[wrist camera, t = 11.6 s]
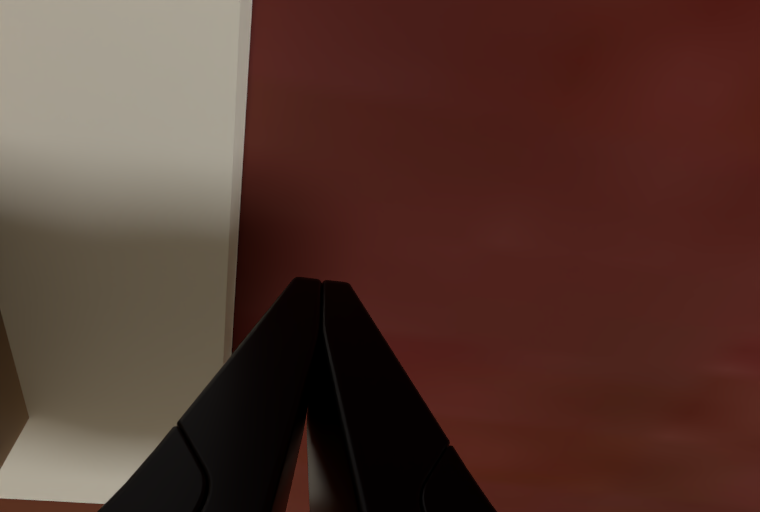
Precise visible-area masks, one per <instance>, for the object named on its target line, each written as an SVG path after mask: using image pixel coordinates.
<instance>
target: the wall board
mask: <svg viewBox="0 0 760 512" xmlns="http://www.w3.org/2000/svg"><path fill="white" fill-rule="evenodd" d="M251 15H252V0H0V310H1V314H2V318H3V322H4V325H5V329H6V333H7V337H8V340H9V344H10V348H11V352H12V355H13V359H14V363H15V366H16V370H17V374H18V378H19V381H20V385H21V389H22V393H23V396H24V400H25V404H26V408H27V411H28V415H29V419H28V421H27V423H26V425H25V426H24V428H23V430H22V432H21V434H20V435H19V437H18V439H17V441H16V442H15V444H14V446H13V448H12V450H11V451H10V453H9V455H8V457H7V458H6V460H5V462H4V464H3V466H2V467H1V469H0V498H8V499H26V500H44V501H62V502H81V503H99V504H105V503H106V502H107V501H108V500H109V499H110V498H111V497H112V496H113V495H114V494H115V493H116V492H117V491H118V490H119V489H120V488H121V487H122V486H123V485H124V484H125V483H126V482H127V481H128V479H129V478H130V477H131V476H132V475H133V474H134V472H135V471H136V470H137V469H138V468H139V467H140V466H141V464H142V463H143V462H144V461H145V460H146V459H147V457H148V456H149V455H150V454H151V453H152V452H153V451H154V449H155V448H156V447H157V446H158V444H159V443H160V442H161V441H162V440H163V438H164V437H165V436H166V435H167V433H168V432H169V431H170V430H171V428H172V427H174V426H177V422H178V420H179V419H180V418H181V417H182V415H183V414H184V413H185V412H186V410H187V409H188V408H189V407H190V405H191V404H192V403H193V402H194V401H195V399H196V398H197V397H198V396H199V394H200V393H201V392H202V391H203V389H204V388H205V387H206V386H207V385H208V383H209V382H210V381H211V380H212V378H213V377H214V376H215V375H216V373H217V372H218V371H219V370H220V369H221V367H222V366H223V365H224V364H225V362H226V361H227V360H228V359H229V357H230V356H231V353H232V336H233V319H234V302H235V285H236V268H237V251H238V234H239V217H240V201H241V184H242V167H243V150H244V133H245V116H246V99H247V82H248V66H249V49H250V32H251Z"/></svg>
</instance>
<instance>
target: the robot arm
mask: <svg viewBox="0 0 760 512" xmlns="http://www.w3.org/2000/svg"><path fill="white" fill-rule="evenodd" d="M307 408H308V409H307ZM306 414H307V449H308V476H309V502H310V512H497V511H496V510H495V509H494V507H493V506H492V505H491V503H490V502H489V500H488V499H487V497H486V496H485V495H484V493H483V492H482V490H481V489H480V487H479V486H478V484H477V483H476V481H475V480H474V478H473V477H472V475H471V474H470V472H469V471H468V469H467V468H466V466H465V465H464V463H463V462H462V460H461V458H460V457H459V455H458V454H457V452H456V450H455V449H454V447H453V446H449V444H450V442H449V440H448V438H447V437H446V435H445V433H444V432H443V430H442V429H441V427H440V425H439V424H438V422H437V421H436V419H435V418H434V416H433V414H432V413H431V411H430V410H429V408H428V407H427V405H426V403H425V402H424V400H423V399H422V397H421V396H420V394H419V392H418V391H417V389H416V388H415V386H414V384H413V383H412V381H411V380H410V378H409V377H408V375H407V373H406V372H405V370H404V369H403V367H402V366H401V364H400V362H399V361H398V359H397V358H396V356H395V355H394V353H393V351H392V350H391V348H390V347H389V345H388V343H387V342H386V340H385V339H384V337H383V336H382V334H381V332H380V331H379V329H378V328H377V326H376V325H375V323H374V321H373V320H372V318H371V317H370V315H369V314H368V312H367V310H366V309H365V307H364V306H363V304H362V302H361V301H360V299H359V298H358V296H357V295H356V293H355V291H354V290H353V288H352V287H351V285H350V284H349V283H347V282H340V281H331V280H325V281H323V283H321V281H320V280H319V279H313V278H304V277H296V278H294V279H293V280H292V281H291V282H290V284H289V285H288V286H287V287H286V288H285V290H284V291H283V292H282V293H281V295H280V296H279V297H278V298H277V300H276V301H275V302H274V303H273V304H272V306H271V307H270V308H269V309H268V311H267V312H266V313H265V314H264V316H263V317H262V318H261V319H260V321H259V322H258V323H257V324H256V325H255V327H254V328H253V329H252V330H251V332H250V333H249V334H248V335H247V337H246V338H245V339H244V340H243V341H242V343H241V344H240V345H239V346H238V348H237V349H236V350H235V351H234V353H233V354H232V355H231V356H230V357H229V359H228V360H227V361H226V362H225V364H224V365H223V366H222V367H221V369H220V370H219V371H218V372H217V373H216V375H215V376H214V377H213V378H212V380H211V381H210V382H209V383H208V385H207V386H206V387H205V388H204V389H203V391H202V392H201V393H200V394H199V396H198V397H197V398H196V399H195V401H194V402H193V403H192V404H191V405H190V407H189V408H188V409H187V410H186V412H185V413H184V414H183V415H182V417H181V418H180V419H179V420H178V422H177V426H174V427H172V428H171V430H170V431H169V432H168V433H167V435H166V436H165V437H164V438H163V440H162V441H161V442H160V443H159V444H158V446H157V447H156V448H155V449H154V451H153V452H152V453H151V454H150V455H149V456H148V457H147V459H146V460H145V461H144V462H143V463H142V464H141V466H140V467H139V468H138V469H137V470H136V471H135V472H134V474H133V475H132V476H131V477H130V478H129V479H128V481H127V482H126V483H125V484H124V485H123V486H122V487H121V488H120V489H119V490H118V491H117V492H116V493H115V494H114V495H113V496H112V497H111V498H110V499H109V500H108V501H107V502H106V503H105V504H104V505H103V506H102V508H101V509H100V510H99V511H98V512H285V511H286V507H287V502H288V498H289V494H290V489H291V485H292V480H293V476H294V471H295V467H296V462H297V458H298V453H299V449H300V444H301V440H302V436H303V430H304V425H305V420H306Z"/></svg>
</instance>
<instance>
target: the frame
mask: <svg viewBox="0 0 760 512" xmlns="http://www.w3.org/2000/svg"><path fill="white" fill-rule="evenodd" d="M28 419H29V415H28V411H27V408H26V404H25V400H24V396H23V393H22V389H21V385H20V381H19V378H18V374H17V370H16V366H15V363H14V359H13V355H12V352H11V348H10V344H9V340H8V337H7V333H6V329H5V325H4V322H3V318H2V314H1V310H0V469H1V467H2V466H3V464H4V462H5V460H6V458H7V457H8V455H9V453H10V451H11V450H12V448H13V446H14V444H15V442H16V441H17V439H18V437H19V435H20V434H21V432H22V430H23V428H24V426H25V425H26V423H27V421H28Z"/></svg>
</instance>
